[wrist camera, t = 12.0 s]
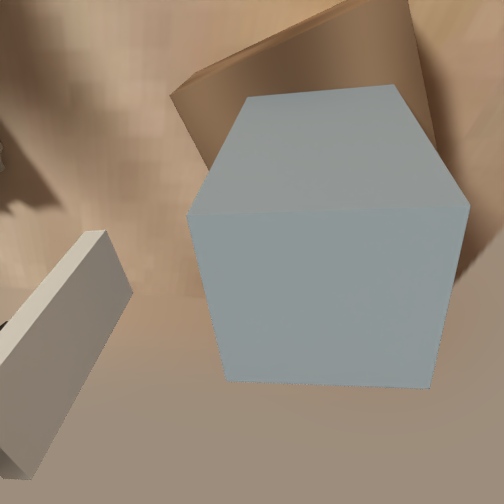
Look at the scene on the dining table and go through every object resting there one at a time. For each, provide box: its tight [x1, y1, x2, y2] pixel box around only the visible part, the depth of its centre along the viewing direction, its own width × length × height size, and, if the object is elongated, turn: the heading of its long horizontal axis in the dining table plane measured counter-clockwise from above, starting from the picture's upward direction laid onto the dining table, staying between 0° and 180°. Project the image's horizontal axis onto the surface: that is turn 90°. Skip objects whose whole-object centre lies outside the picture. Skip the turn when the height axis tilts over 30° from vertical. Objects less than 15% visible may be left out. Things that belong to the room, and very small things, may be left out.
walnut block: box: [170, 0, 438, 171], centre depth 20 cm, size 10×10×5 cm
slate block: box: [186, 84, 471, 389], centre depth 14 cm, size 6×6×10 cm
